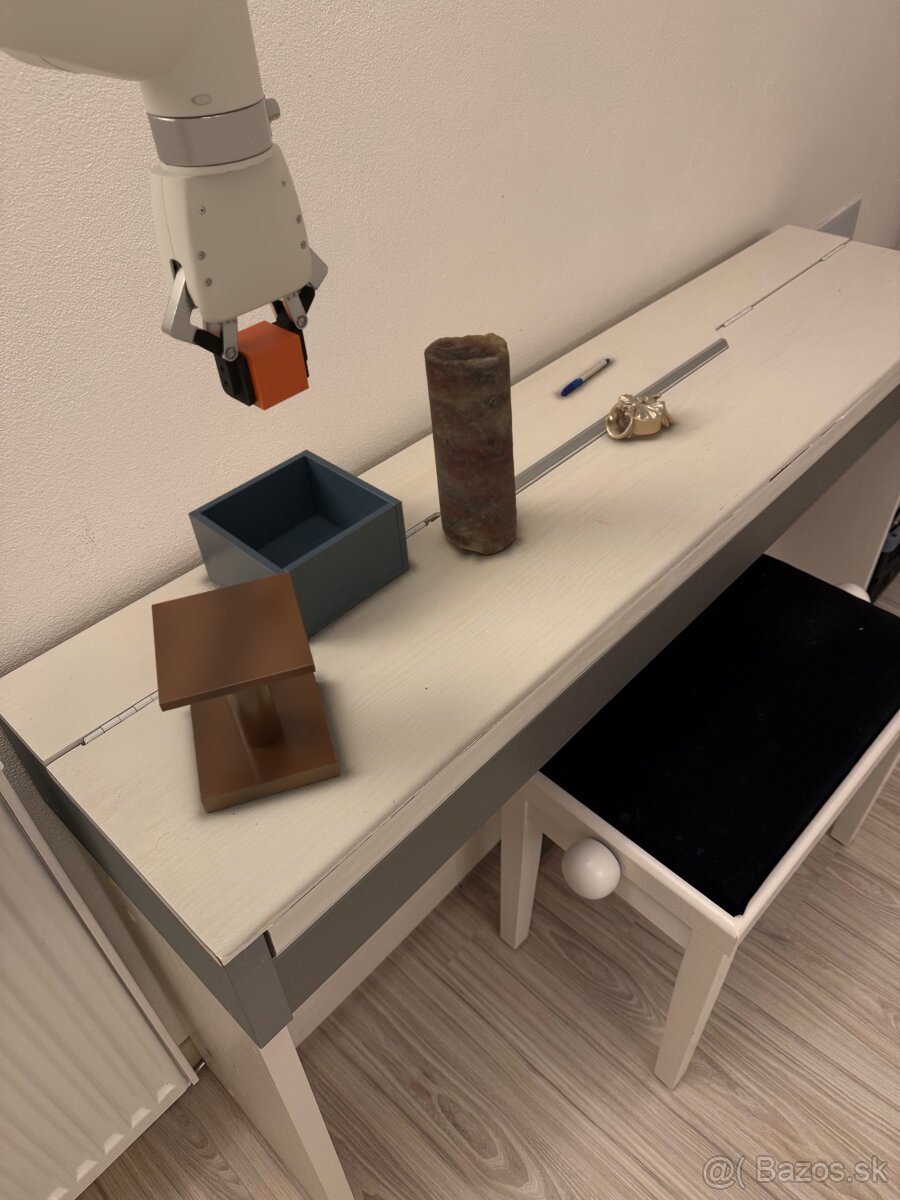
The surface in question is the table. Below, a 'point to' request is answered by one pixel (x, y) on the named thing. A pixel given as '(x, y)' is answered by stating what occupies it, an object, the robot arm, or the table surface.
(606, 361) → the ballpoint pen
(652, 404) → the ornament
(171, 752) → the table surface
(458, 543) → the brown textured cylinder
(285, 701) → the serving stand
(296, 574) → the blue open crate
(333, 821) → the table surface
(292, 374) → the orange block
